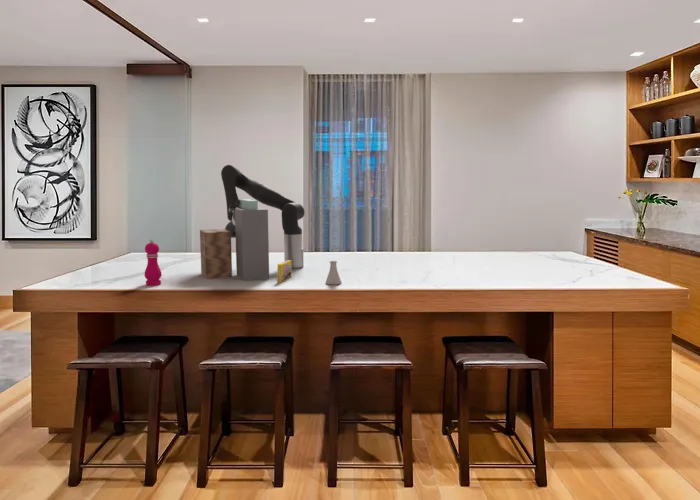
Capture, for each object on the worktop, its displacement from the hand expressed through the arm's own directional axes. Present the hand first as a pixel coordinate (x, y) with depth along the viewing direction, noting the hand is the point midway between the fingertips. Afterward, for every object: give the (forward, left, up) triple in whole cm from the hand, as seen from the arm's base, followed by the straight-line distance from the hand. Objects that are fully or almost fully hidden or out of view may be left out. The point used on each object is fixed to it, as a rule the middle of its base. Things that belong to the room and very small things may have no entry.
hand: (245, 201), depth 314 cm
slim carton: (0, +5, -3) cm, 6 cm away
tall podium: (0, +11, -35) cm, 37 cm away
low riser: (+15, 0, -35) cm, 38 cm away
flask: (-29, +43, -36) cm, 63 cm away
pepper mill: (+45, +14, -35) cm, 59 cm away
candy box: (-12, +24, -36) cm, 45 cm away
